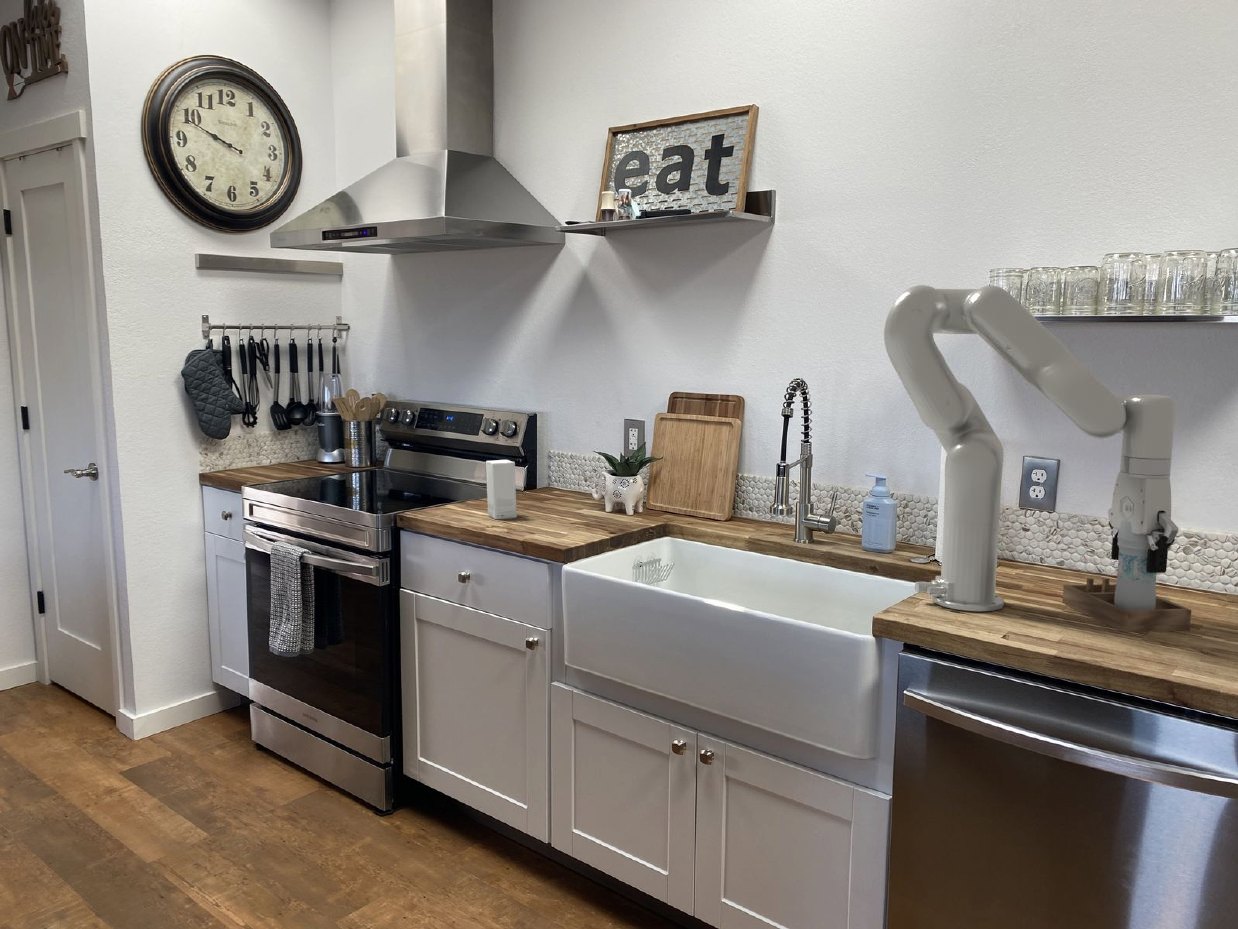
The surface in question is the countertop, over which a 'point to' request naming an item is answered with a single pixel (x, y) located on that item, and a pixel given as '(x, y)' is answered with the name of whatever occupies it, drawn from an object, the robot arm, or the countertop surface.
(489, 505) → the skincare box
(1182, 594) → the countertop surface
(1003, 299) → the robot arm
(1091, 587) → the tray
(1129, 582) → the bottle
